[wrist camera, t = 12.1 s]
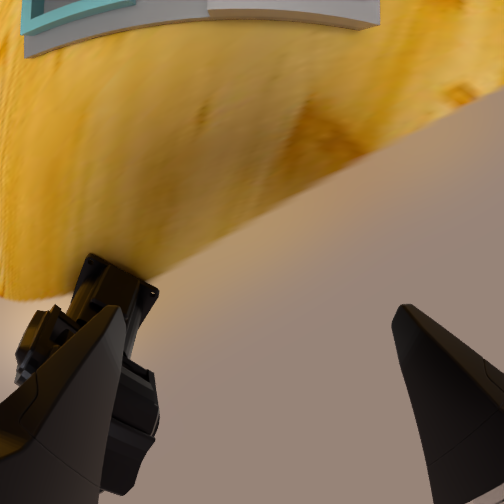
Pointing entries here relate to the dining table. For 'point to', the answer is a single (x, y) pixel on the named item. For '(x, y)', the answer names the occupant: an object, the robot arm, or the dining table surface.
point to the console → (173, 16)
